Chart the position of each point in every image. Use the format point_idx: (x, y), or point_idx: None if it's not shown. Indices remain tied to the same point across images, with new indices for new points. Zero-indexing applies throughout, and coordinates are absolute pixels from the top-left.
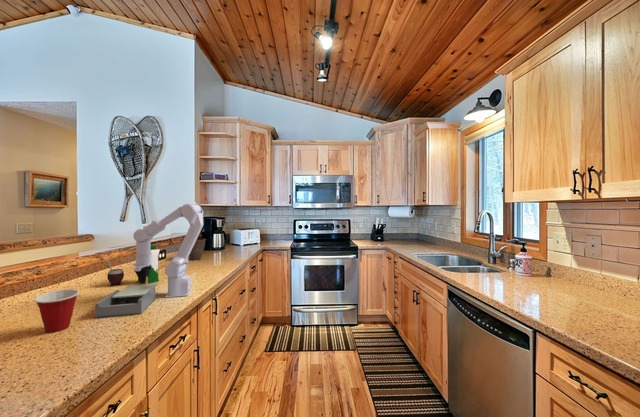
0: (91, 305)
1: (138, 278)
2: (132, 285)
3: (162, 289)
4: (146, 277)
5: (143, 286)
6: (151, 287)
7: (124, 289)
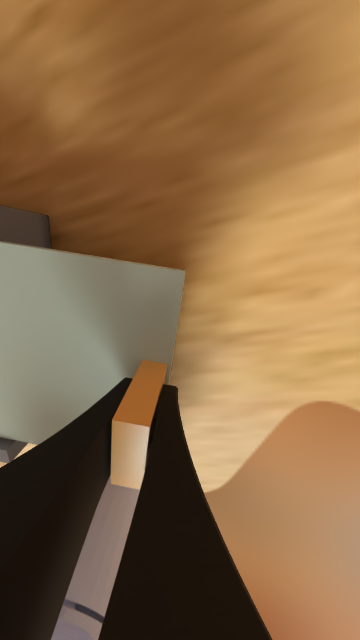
0: (7, 16)
1: (80, 416)
2: (150, 309)
3: (238, 423)
4: (112, 479)
5: (86, 395)
6: (44, 438)
7: (13, 264)
